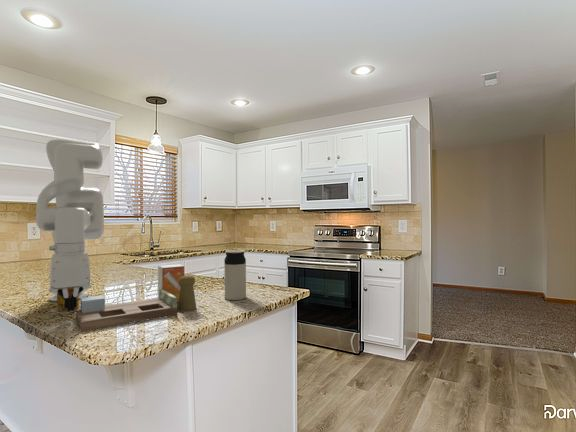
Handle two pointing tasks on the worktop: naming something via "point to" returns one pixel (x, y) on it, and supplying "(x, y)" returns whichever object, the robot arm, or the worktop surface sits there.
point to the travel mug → (235, 275)
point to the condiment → (62, 303)
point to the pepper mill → (186, 294)
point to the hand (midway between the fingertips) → (70, 310)
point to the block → (92, 304)
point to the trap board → (129, 312)
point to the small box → (170, 278)
